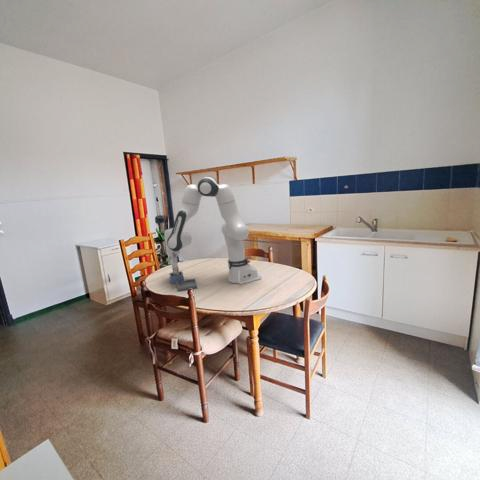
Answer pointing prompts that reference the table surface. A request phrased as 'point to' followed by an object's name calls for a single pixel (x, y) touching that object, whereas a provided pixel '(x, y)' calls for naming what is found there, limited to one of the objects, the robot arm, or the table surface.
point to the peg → (176, 273)
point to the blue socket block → (176, 277)
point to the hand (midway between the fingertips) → (175, 270)
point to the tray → (187, 284)
